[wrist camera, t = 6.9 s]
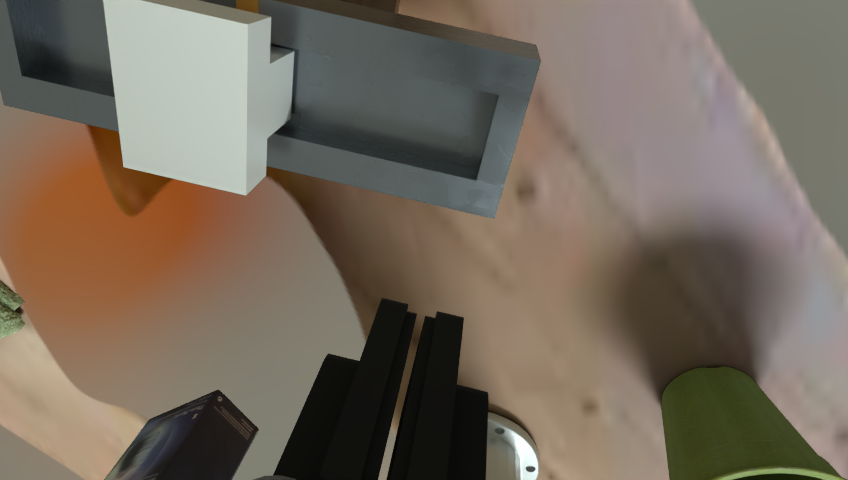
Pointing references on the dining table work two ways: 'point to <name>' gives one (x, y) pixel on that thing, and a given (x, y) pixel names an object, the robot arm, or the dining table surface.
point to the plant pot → (732, 432)
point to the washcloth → (9, 311)
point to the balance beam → (321, 91)
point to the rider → (197, 90)
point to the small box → (189, 443)
